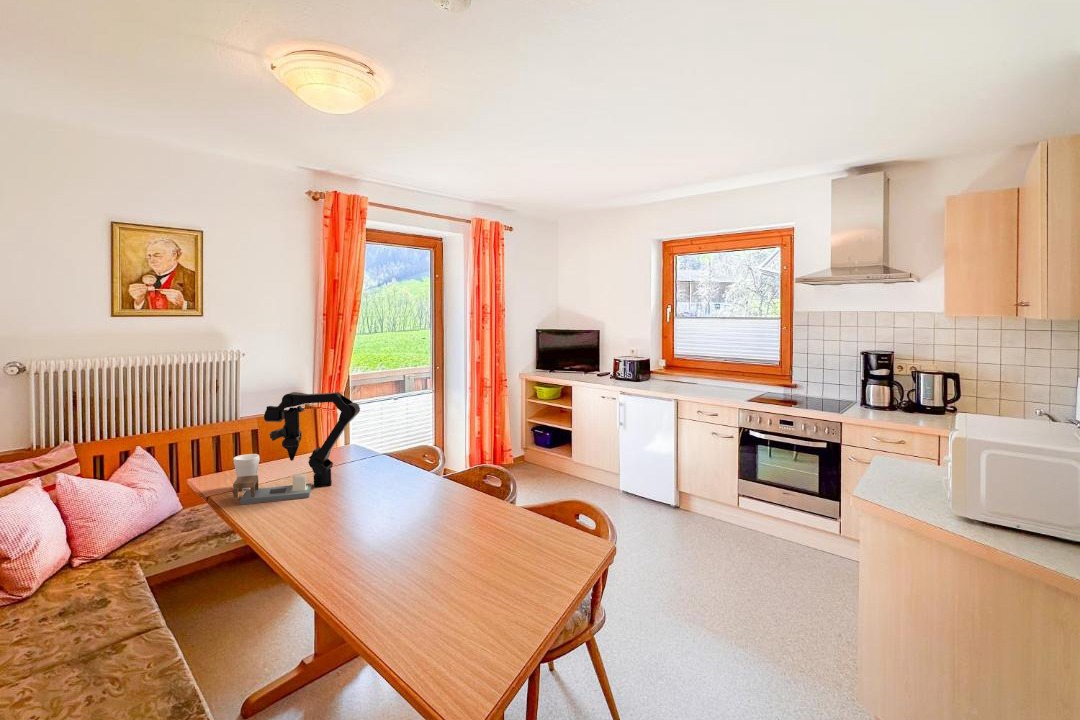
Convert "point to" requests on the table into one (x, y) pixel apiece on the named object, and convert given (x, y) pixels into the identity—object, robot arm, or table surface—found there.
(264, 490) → the board
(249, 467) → the foam cup
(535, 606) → the table surface
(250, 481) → the slide cover
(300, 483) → the block
